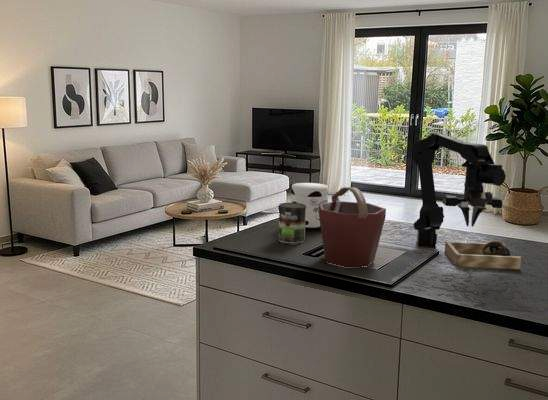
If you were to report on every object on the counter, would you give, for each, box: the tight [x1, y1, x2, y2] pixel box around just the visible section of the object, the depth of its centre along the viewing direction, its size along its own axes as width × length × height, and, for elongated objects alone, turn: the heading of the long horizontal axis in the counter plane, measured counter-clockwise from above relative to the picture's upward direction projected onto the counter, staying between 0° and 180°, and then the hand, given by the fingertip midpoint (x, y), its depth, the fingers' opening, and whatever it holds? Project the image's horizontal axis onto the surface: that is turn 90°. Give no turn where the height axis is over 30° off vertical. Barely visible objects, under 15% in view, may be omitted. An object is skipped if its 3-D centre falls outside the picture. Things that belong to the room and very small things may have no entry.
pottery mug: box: [482, 240, 511, 256], centre depth 191 cm, size 12×10×8 cm
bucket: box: [319, 186, 387, 267], centre depth 185 cm, size 24×22×25 cm
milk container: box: [290, 182, 329, 230], centre depth 232 cm, size 17×17×18 cm
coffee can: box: [278, 202, 306, 244], centre depth 210 cm, size 10×10×14 cm
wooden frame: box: [444, 241, 522, 270], centre depth 191 cm, size 21×17×4 cm
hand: (469, 226), depth 189 cm, fingers closed
